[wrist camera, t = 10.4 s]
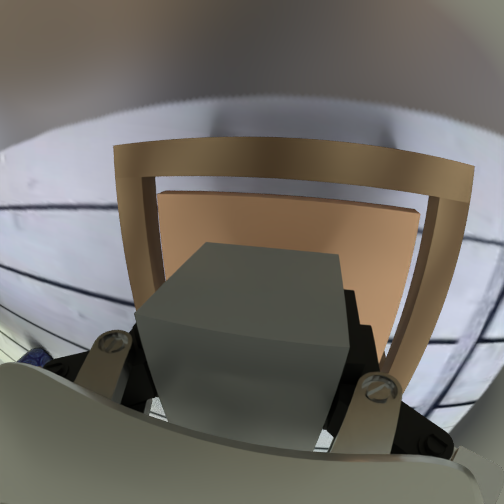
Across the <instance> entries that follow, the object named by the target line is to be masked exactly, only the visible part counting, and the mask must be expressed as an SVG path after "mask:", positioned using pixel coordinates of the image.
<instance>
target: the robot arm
mask: <svg viewBox="0 0 504 504" xmlns="http://www.w3.org/2000/svg"><path fill="white" fill-rule="evenodd" d="M344 296H345V305H346V314H347V323H348V334H349V345H350V348H349V352H348V355H347V358H346V362H345V365H344V368H343V371H342V375H341V378H340V381H339V384H338V387H337V390H336V393H335V396H334V399H333V401H332V404H331V407H330V410H329V412H328V415H327V418H326V420H325V423H324V426H323V430H327V432H329V433H330V434H331V435H332V436H333V437H334V438H333V440H332V442H331V444H330V447H329V449H328V451H327V453H326V452H312V451H301V450H292V449H284V448H277V447H270V446H264V445H258V444H252V443H247V442H242V441H237V440H232V439H228V438H223V437H219V436H215V435H211V434H207V433H203V432H199V431H196V430H192V429H189V428H185V427H182V426H179V425H175V424H172V423H169V422H166V421H163V420H160V419H157V418H154V417H151V416H149V413H150V409H151V404H152V398H155V397H159V396H158V393H157V390H156V387H155V384H154V381H153V378H152V375H151V372H150V369H149V366H148V362H147V359H146V356H145V352H144V349H143V346H142V342H141V338H140V335H139V331H138V327H137V323H136V324H135V325H134V326H133V329H132V330H131V331H130V332H129V333H128V332H126V331H123V330H111V331H107V332H105V333H103V334H101V335H100V336H99V337H98V338H97V339H96V340H95V342H94V344H93V346H92V348H91V350H90V351H86V352H82V353H78V354H74V355H70V356H65V357H61V358H56V359H53V360H50V361H49V362H47V363H46V364H45V365H44V366H43V367H41V366H34V365H30V364H26V363H18V362H9V363H4V364H1V365H0V504H496V502H497V500H498V497H499V495H500V492H501V490H502V488H503V485H504V471H503V469H502V467H500V466H499V465H498V464H496V463H494V462H492V461H490V460H488V459H486V458H484V457H481V456H479V455H478V454H475V453H474V452H471V451H470V450H468V449H466V448H464V447H462V446H460V447H459V448H456V447H454V443H453V440H452V438H451V437H450V435H449V434H448V433H447V432H446V431H444V430H443V429H441V428H440V427H438V426H437V425H436V424H434V423H433V422H431V421H430V420H428V419H427V418H425V417H424V416H423V415H421V414H420V413H418V412H417V411H415V410H414V409H413V408H411V407H410V406H408V405H407V404H405V403H404V402H403V401H401V400H402V387H401V384H400V383H399V381H398V380H397V379H396V378H395V377H393V376H392V375H390V374H387V373H384V372H380V368H379V362H378V356H377V351H376V345H375V340H374V335H373V330H372V327H371V325H364V324H360V320H359V314H358V308H357V302H356V297H355V291H354V290H347V289H344Z"/></svg>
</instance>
